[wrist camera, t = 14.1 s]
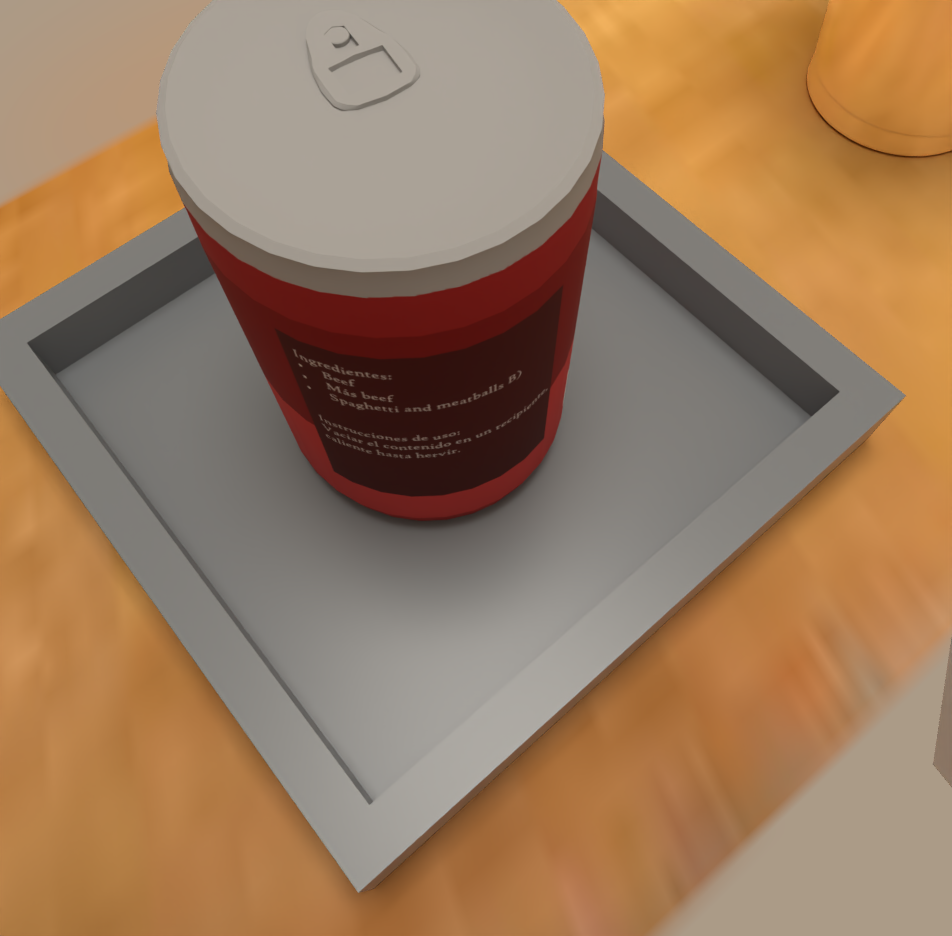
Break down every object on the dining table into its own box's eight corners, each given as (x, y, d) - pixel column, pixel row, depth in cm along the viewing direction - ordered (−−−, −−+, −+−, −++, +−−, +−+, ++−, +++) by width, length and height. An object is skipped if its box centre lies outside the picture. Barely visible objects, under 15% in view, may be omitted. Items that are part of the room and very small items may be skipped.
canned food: (421, 248, 27) (377, -118, 17) (619, 398, 24) (707, 75, 14) (234, 406, 24) (53, 91, 14) (432, 588, 22) (380, 363, 12)
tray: (373, 888, 20) (358, 892, 18) (13, 385, 26) (-33, 339, 23) (867, 438, 24) (905, 395, 22) (466, 99, 30) (464, 38, 28)
